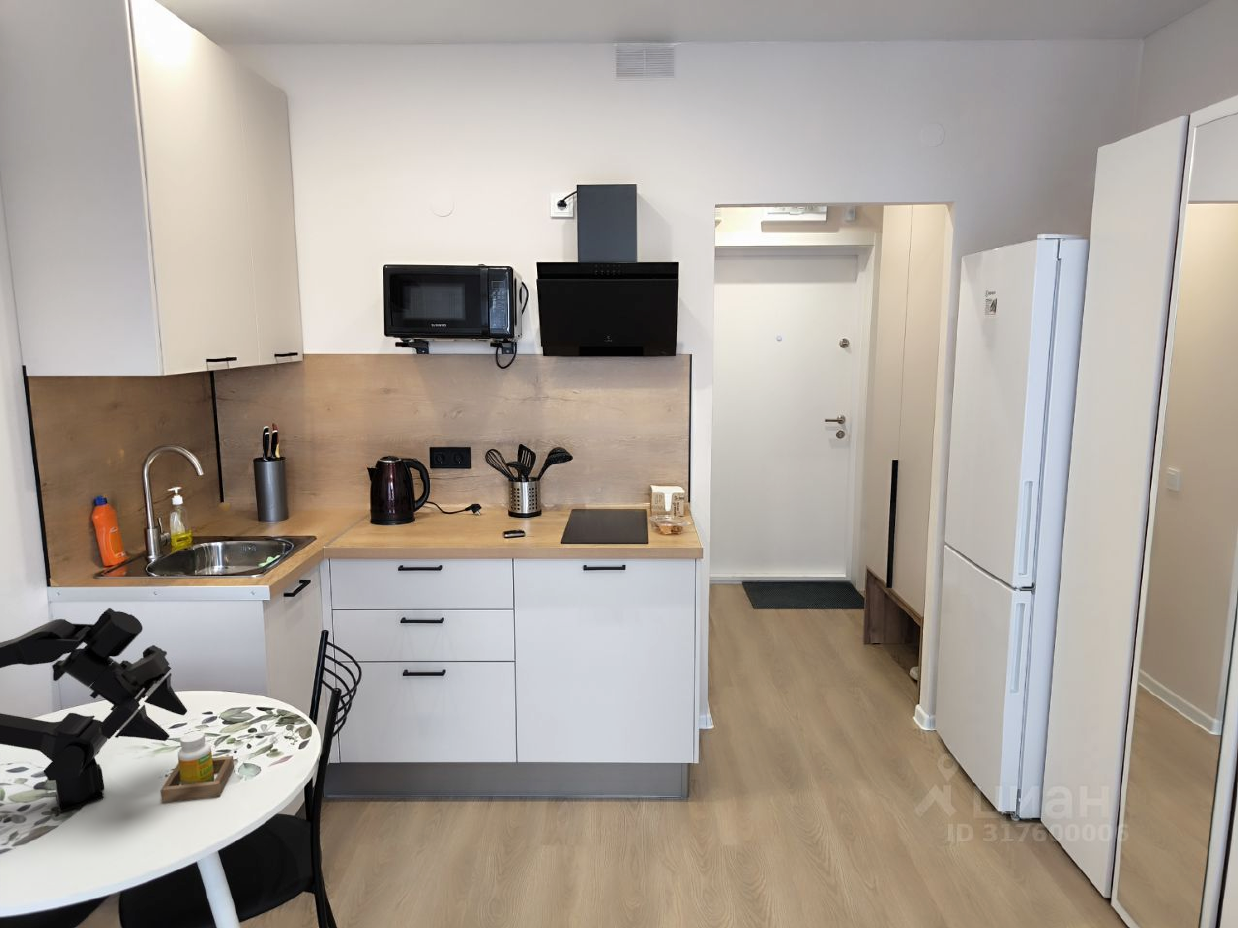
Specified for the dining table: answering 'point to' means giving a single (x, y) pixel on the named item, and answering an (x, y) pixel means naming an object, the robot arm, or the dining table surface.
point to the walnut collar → (198, 790)
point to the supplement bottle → (195, 759)
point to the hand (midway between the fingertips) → (177, 725)
